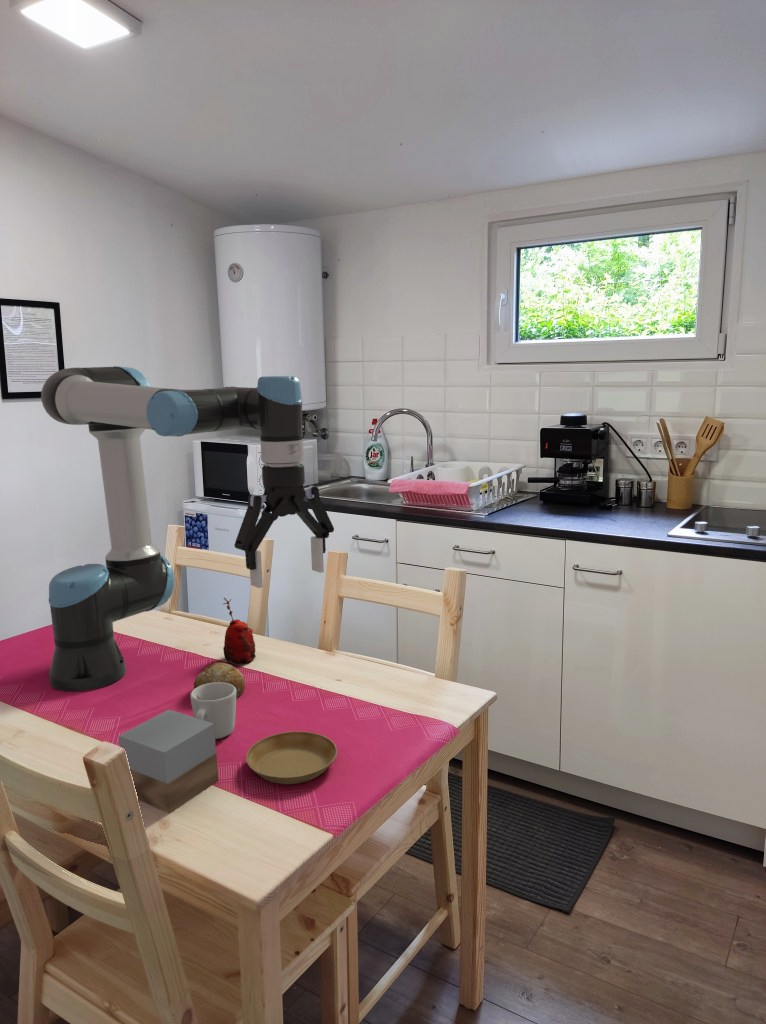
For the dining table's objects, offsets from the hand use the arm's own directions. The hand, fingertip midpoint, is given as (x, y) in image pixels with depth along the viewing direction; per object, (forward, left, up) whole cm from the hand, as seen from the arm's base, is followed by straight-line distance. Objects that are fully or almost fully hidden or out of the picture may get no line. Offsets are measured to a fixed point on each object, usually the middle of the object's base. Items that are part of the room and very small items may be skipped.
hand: (288, 578), depth 136 cm
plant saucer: (+13, -17, -26) cm, 33 cm away
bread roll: (-18, -2, -26) cm, 32 cm away
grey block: (0, -31, -21) cm, 37 cm away
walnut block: (0, -31, -26) cm, 40 cm away
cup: (-6, -16, -26) cm, 31 cm away
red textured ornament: (-26, +13, -26) cm, 39 cm away
